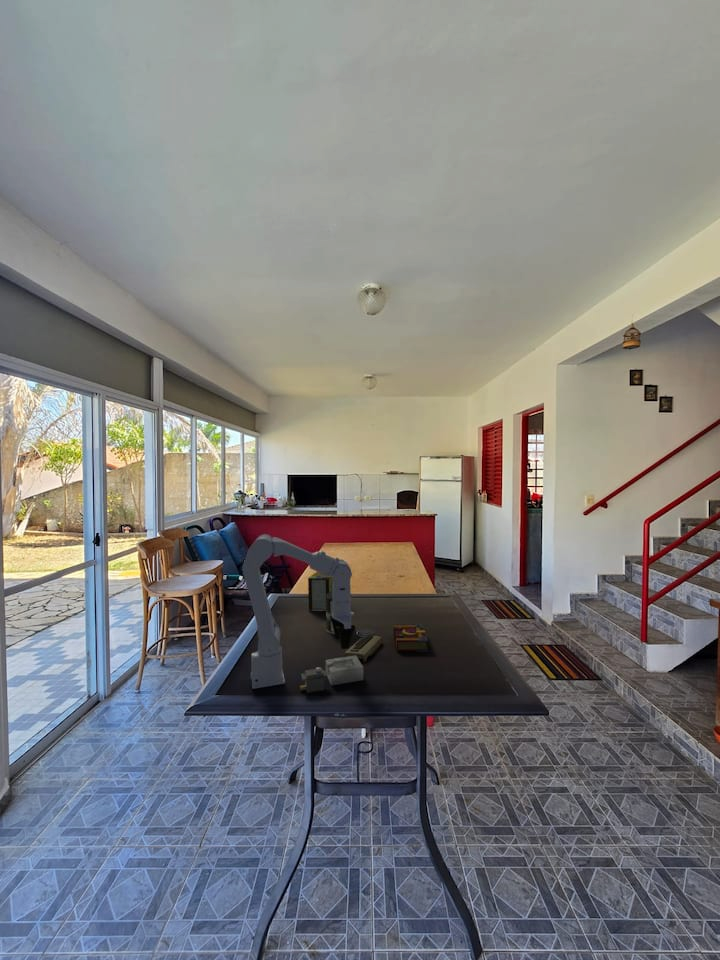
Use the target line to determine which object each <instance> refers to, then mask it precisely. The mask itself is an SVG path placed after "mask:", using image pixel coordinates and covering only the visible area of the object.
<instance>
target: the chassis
mask: <svg viewBox="0 0 720 960" xmlns="http://www.w3.org/2000/svg"><path fill="white" fill-rule="evenodd" d="M325 671H326V673H327V676H328V677H327V679H328V681H329V683H330V686H336V685H337V686H338V685H341V684H349V683H353V682H359V681H364V666H363V664H362V663H361V661H359V659H358V658H357V656H356V655H355V656H348V657H344V656H342V657H335V658H330V659H325Z"/></svg>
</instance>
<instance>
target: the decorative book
mask: <svg viewBox="0 0 720 960" xmlns="http://www.w3.org/2000/svg"><path fill="white" fill-rule="evenodd" d="M392 632H393V641H394V648H395V649H396V653H397V652H398V653H400V652H401V653H402V652H404V653H405V652H407V653H408V652H411V653H412V652H417V653H429V648H428V646H427V643H429V639H428V637H427V635H426V630H424V626H423V624H422V623H412V624H393V631H392Z"/></svg>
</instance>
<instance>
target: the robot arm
mask: <svg viewBox="0 0 720 960" xmlns="http://www.w3.org/2000/svg"><path fill="white" fill-rule="evenodd" d="M272 554H273V557H274V558H275V557H280V556H287V557H290V558H293V559H295V560H299V561H300V562H304V563H307V564H308V566H309V569H311V570H313V571H315V572H320V573H322V574H325V575H327V576H333V586H332V596H333V613H332V615H331V616H329V617H330V619H331V622H332V624H333V628H334V634H333V635H334V637H335V639H336V640H339V642H340V648H341V649H342V650H348V649H349V648H350V644H351V639H352V635H353V633H354V631H356V630H355V629H356V626H355V624H352V617H354V616H355V612H354V611H352V599H351V598H352V593H351V592H352V591H351V590H352V589H351V578H352V577H353V572H352V570H351V569H352V568H351V567H350V565H349V563H348V562H347V561H345V560H344V559H340V558H339V557H333V556H330V555H327V554H326V551H323V550H321V551H315V552H311V551H308V550H306V549H303V548H301V547H299V546H297V545H295V544H294V543H291V542H289V541H286V540H284V539H282V538H279V537H276V536H273V537H272V536H271V535H270V534H267V533H266V534H265V533H264V534H261V535H259V536H258V537H257V538H256V539H255V540H254V541H253V543H252V544H251V545H250V547H249V548H248V549H247V552H246V555H245V558H244V561H243V564H242V567H241V569H242V574H243V577H244V580H245V585H246V589H247V591H248V595H249V599H250V603H251V606H252V607H251V608H252V610H253V611H252V612H253V613H254V614H253V615H254V618H255V622H256V626H257V630H256V631H257V636H258V642H257V650H256V651H254V652H252V653H251V655H250V656H251V658H250V659H251V672H250V679H251V687H252V689H254V690H255V689H261V688H267V687H273V686H279V685H284V684H286V681H285V680H286V679H285V675H284V671H283V647H282V646H281V644H280V642H281V641H280V640H281V637H282V630H281V628H280V627H279V626H278V624H277V623H276V620H275V618H274V616H273V613H272V610H271V606H270V602H269V599H268V596H267V591H266V587H265V584H264V581H263V577H262V572H261V569H260V568H261V567H262V565H263V564H264V563H265V562H266V561H267V560H268V559H269V558H271V556H272Z"/></svg>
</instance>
